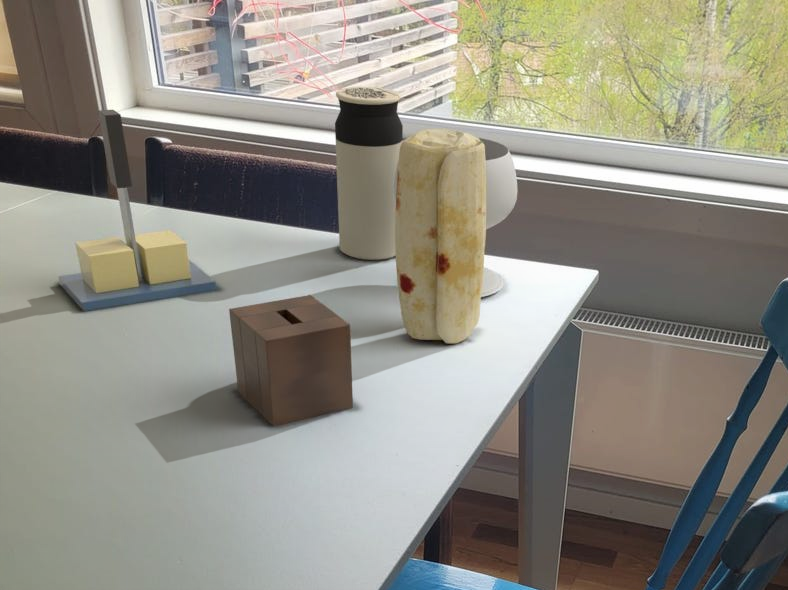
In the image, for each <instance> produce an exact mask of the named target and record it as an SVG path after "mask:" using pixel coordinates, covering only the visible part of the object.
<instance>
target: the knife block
mask: <svg viewBox="0 0 788 590" xmlns="http://www.w3.org/2000/svg"><path fill="white" fill-rule="evenodd" d="M228 311H229V321H230V330H231V338H232V349H233V355H234V357H233V358H234V367H235V374H236V383H237V392H238V393H239V394H240V395H241V396H242V397H243V398H244V399H245V400H246V401H247V402H248V403H249V404H250V405H251V406H252V407H253V408H254V409H255V410H256V412H258V413H259V414H260V415H261V417H263V418H264V419H265V420H266V421H267V422H268V423H269V424H270V425H271V426H272V427H277V426H278V427H279V426H282V425H287V424H290V423H295V422H298V421H303V420H308V419H312V418H316V417H320V416H324V415H329V414H334V413H338V412H342V411H346V410H350V409H353V408H354V399H353V398H354V397H353V396H354V395H353V371H352V370H353V369H352V368H353V367H352V339H351V337H352V336H351V324H350V323H348V321H346V320H345V319H343V318H342V317H341V316H339V315H338V314H337V313H336V312H334V311H333V310H331V309H330V308H329V307H327V306H326V305H325V304H323V303H322V302H320V301H319V300H317V298H315V297H314V296H312V295H311V294H307V295H302V296H296V297H290V298H284V299H278V300H272V301H266V302H261V303H256V304H249V305H244V306H237V307H233V308H229V309H228Z"/></svg>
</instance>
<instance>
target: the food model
mask: <svg viewBox="0 0 788 590" xmlns="http://www.w3.org/2000/svg"><path fill="white" fill-rule="evenodd" d="M478 138H479V137H478V136H475V135H473V134H472V133H471V134H470V133H468V132H464V131H457V130H454V129H453V130H452V129H447V128H429V129H428V128H427V129H422V130H419V131H418V132H416V133H414V134H412V135H410V136H409V137H407V138H406V139H404V140H403V142H402V144H401V146H400V151H399V161H398V175H397V193H396V209H395V255H396V256H395V267H396V279H397V280H396V281H397V287H398V297H399V305H400V312H401V317H402V322H403V325H404V329H405V332H406V333H407V335H408V336H409V337H410V338H412V339H415V340H425V341H426V340H427V341H430V340H431V341H443V342H444V343H445V344H452V345H453V344H455V345H457V344H459V343H460V342H463V341H465V340H467V339H468V338H469V336H471V334H472V333H473V332H474V330H475V328H476V327H477V326H478V323H479V320H480V316H481V315H480V314H481V301H482V297H481V289H482V281H483V270H484V268H485V249H486V239H487V229H486V161H485V146H484V144H483V142H482V141H480V140H479V139H478Z"/></svg>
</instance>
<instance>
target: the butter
mask: <svg viewBox="0 0 788 590" xmlns="http://www.w3.org/2000/svg"><path fill="white" fill-rule="evenodd" d="M135 239H136V245H137V251H138V257H139V263H140V269H141V275H142V281H143V282H138V276H137V270H136V264H135V259H134V253H133V250H132V249H131V248H130V247H129V246H128V245H127V244H126V241H124V240H123V239H121V237H119V236H115V237H107V238H99V239H91V240H84V241H76V242H74V245H75V249H76V254H77V259H78V263H79V264H78V265H79V269H80V272H78V273H72V274H63V275H58V282H59V285H60V286H61V287H62V289H63V290H64V291H65V292H66V293H67V295H69V297H71V299H72V300H73V301H74V302H75V304H77V306H78V307H79V308H80V309H81V310H82V312H90V311H96V310H101V309H107V308H113V307H119V306H125V305H133V304H138V303H144V302H150V301H158V300H162V299H163V300H164V299H170V298H176V297H181V296H188V295H193V294H199V293H206V292H211V291H216V290H217V284H216V281H215V279H213V278H212V277H210V276H209V275H208V274H207V273H206V272H204V271H203V270H202V269H201V268H200V267H199V266H197V264H195V263H194V262H193V261H191V260H190V259H189V252H188V246H187V242H186V241H184V239H182V238H181V237H180V236H179V235H177V234H176V233H175V232H174V231H173V230H171V229H170V230H169V229H168V230H162V231H154V232H153V231H152V232H145V233H137V234H135Z"/></svg>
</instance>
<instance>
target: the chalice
mask: <svg viewBox="0 0 788 590" xmlns="http://www.w3.org/2000/svg"><path fill="white" fill-rule="evenodd" d="M477 138H478V139H479V140H480V141H482V142H483V144H484V146H485V161H486V230H488V229H490V228H492V227H494V226H496V225H498V224H500V223H501V222H503V221H504V220H506V218H507V217H508V216H509V215H510V213H511V212H512V211H513V209H514V208H515V205H516V203H517V200H518V191H519V190H518V179H517V172H516V167H515V164H514V160H513V157H512V154H511V152H510V150H509V148H508V147H507V146H505V144H502V143H500V142H497V141H494V140H491V139H488V138H487V139H486V138H481V137H477ZM398 161H399V160H398ZM397 175H398V163H397V167H396V172H395V180H394V196H395V199H396V193H397ZM503 286H504V280H503V278H502V277H501V276H500V275H499V274H498V273H497V272H495V271H493V270H492V269H489V268H488V267H484V270H483V281H482V289H481V298H484V297H488V296H490V295H494V294H495V293H496V294H497V292H499V291H501V289H502V288H503Z"/></svg>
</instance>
